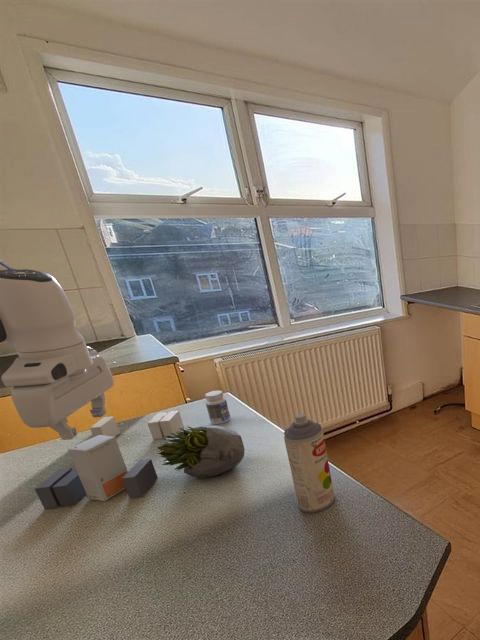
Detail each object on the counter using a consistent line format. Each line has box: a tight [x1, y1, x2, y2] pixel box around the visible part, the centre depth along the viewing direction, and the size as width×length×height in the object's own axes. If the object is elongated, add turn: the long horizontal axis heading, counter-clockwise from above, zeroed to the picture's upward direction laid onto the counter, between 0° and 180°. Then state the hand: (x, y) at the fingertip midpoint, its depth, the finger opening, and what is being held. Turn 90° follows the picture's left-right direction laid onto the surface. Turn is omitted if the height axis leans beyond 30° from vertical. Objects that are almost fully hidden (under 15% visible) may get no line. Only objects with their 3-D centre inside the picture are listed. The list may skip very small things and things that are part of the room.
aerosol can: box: [283, 413, 336, 514], centre depth 85 cm, size 7×7×20 cm
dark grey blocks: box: [34, 458, 159, 510], centre depth 89 cm, size 16×7×5 cm, turn 105°
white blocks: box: [89, 410, 185, 441], centre depth 111 cm, size 17×6×5 cm, turn 105°
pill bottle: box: [204, 390, 231, 425], centre depth 119 cm, size 5×5×8 cm
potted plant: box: [156, 424, 245, 479], centre depth 95 cm, size 12×13×15 cm
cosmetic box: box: [67, 435, 129, 502], centre depth 88 cm, size 6×4×12 cm
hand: (85, 426), depth 85 cm, fingers open, 8 cm apart
